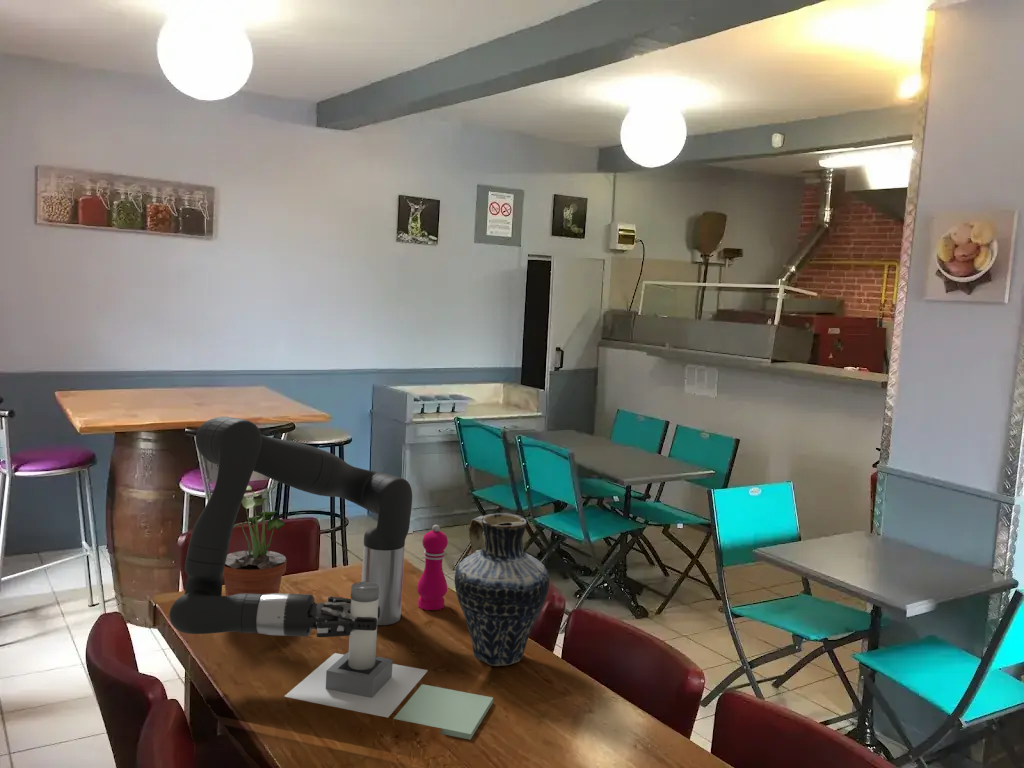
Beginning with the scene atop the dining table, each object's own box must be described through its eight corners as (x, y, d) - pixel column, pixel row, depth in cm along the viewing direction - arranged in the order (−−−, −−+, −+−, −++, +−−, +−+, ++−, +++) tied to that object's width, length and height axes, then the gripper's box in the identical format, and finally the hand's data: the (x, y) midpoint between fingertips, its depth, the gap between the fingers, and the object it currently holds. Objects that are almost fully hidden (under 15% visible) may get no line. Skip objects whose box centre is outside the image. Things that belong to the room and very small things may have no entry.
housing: (334, 657, 169) (335, 636, 169) (427, 675, 165) (429, 653, 164) (283, 701, 150) (284, 677, 150) (387, 722, 145) (389, 698, 145)
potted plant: (273, 600, 198) (280, 454, 195) (292, 623, 185) (299, 467, 182) (204, 608, 190) (210, 456, 186) (219, 633, 177) (225, 471, 174)
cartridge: (354, 655, 160) (358, 580, 159) (380, 660, 159) (384, 584, 157) (342, 667, 155) (346, 589, 154) (368, 672, 154) (372, 593, 152)
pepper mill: (441, 613, 197) (446, 530, 195) (411, 609, 198) (416, 526, 196) (449, 603, 204) (454, 522, 202) (421, 599, 205) (426, 519, 204)
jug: (562, 662, 175) (573, 521, 172) (497, 689, 161) (508, 536, 158) (491, 630, 189) (500, 500, 186) (426, 653, 175) (435, 512, 172)
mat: (421, 689, 159) (422, 684, 158) (492, 702, 155) (493, 697, 155) (393, 723, 145) (393, 718, 145) (470, 739, 142) (470, 734, 142)
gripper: (278, 609, 148) (375, 613, 149) (294, 581, 162) (382, 585, 163) (276, 650, 149) (373, 654, 150) (292, 618, 163) (381, 622, 164)
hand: (377, 618), depth 156 cm, fingers closed on cartridge, 5 cm apart
